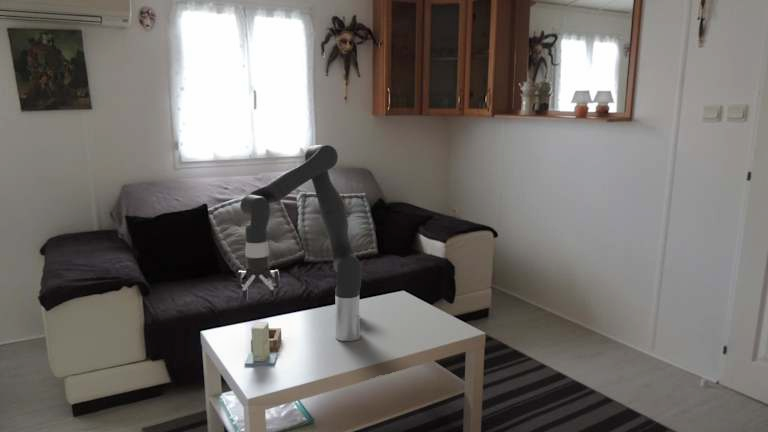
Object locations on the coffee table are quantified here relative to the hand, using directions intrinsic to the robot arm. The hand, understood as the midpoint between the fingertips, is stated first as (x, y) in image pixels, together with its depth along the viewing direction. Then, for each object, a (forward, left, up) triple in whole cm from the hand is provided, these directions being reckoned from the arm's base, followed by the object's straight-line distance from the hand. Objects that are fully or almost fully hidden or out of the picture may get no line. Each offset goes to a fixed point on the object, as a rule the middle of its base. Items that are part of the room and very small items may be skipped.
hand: (259, 299), depth 192 cm
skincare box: (0, 0, -22) cm, 22 cm away
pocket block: (0, -13, -23) cm, 26 cm away
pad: (0, 0, -22) cm, 22 cm away
